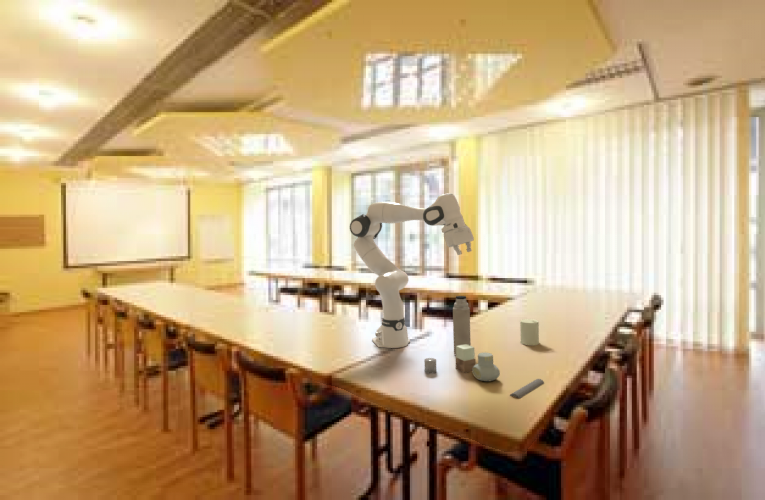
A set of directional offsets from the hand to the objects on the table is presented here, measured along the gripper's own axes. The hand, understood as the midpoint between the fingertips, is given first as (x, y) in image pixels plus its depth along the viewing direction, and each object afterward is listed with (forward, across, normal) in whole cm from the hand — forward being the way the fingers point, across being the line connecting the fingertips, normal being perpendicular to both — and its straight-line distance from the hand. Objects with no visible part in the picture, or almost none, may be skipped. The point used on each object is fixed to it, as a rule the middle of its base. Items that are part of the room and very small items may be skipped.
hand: (464, 253), depth 195 cm
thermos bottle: (+46, +6, -15) cm, 49 cm away
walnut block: (+48, +24, -4) cm, 53 cm away
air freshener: (+51, +29, +8) cm, 59 cm away
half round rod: (+56, +30, +24) cm, 68 cm away
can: (+54, -29, +2) cm, 62 cm away
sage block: (+43, +23, -2) cm, 49 cm away
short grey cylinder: (+44, +34, -14) cm, 57 cm away
